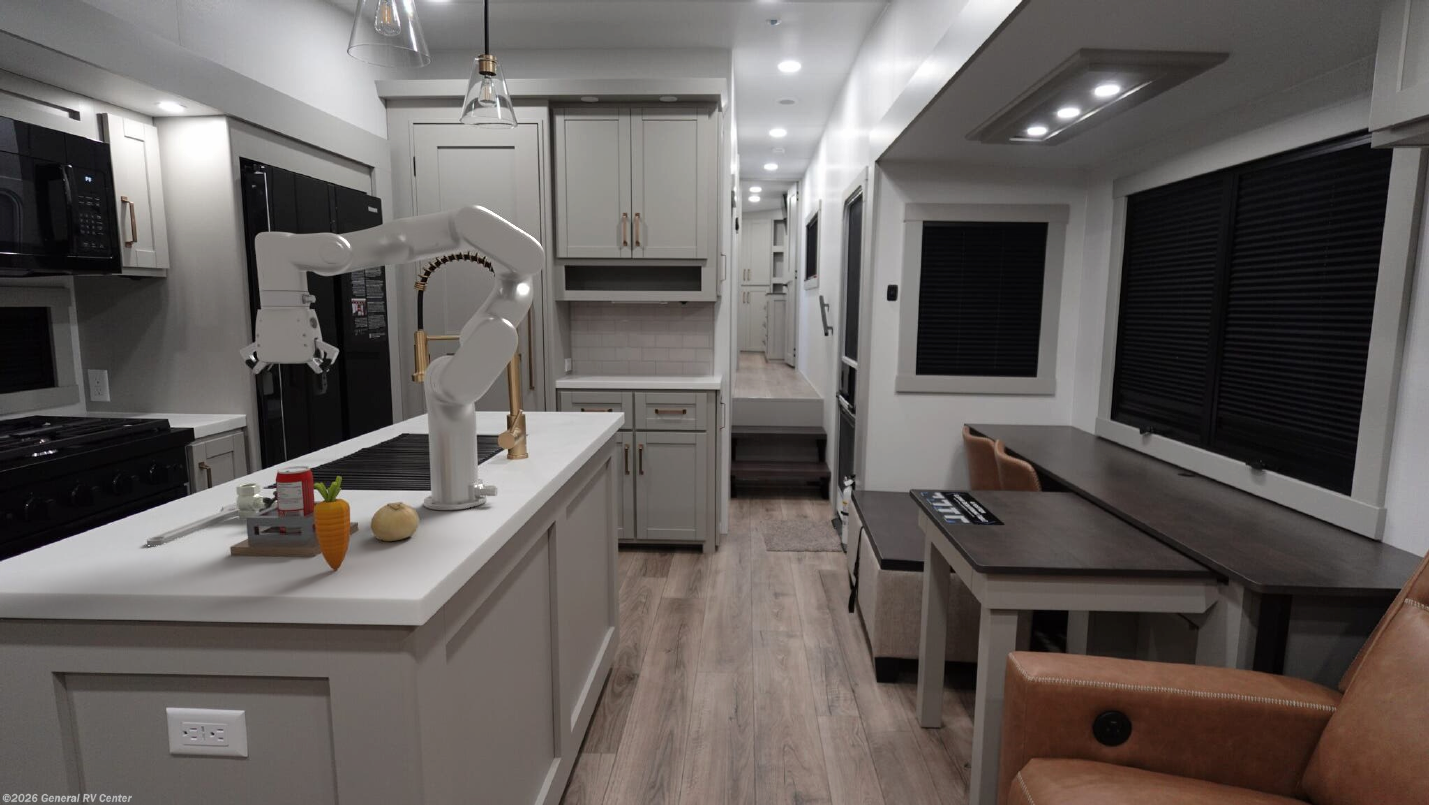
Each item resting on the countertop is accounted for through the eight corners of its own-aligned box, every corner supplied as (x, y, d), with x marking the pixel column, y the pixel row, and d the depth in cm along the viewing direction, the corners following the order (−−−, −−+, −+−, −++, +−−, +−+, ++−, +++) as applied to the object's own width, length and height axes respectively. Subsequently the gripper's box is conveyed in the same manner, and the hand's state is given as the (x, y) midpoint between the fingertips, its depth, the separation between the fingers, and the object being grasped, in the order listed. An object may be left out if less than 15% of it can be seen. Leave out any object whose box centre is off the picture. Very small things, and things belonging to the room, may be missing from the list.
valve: (226, 520, 133) (263, 529, 128) (223, 487, 132) (260, 495, 127) (261, 512, 139) (298, 520, 133) (259, 480, 138) (295, 487, 133)
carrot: (315, 578, 104) (309, 482, 102) (319, 567, 109) (313, 475, 107) (352, 573, 106) (346, 479, 104) (354, 562, 111) (349, 473, 109)
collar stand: (358, 530, 127) (356, 499, 126) (314, 556, 113) (311, 521, 113) (284, 529, 127) (281, 498, 127) (230, 555, 113) (227, 520, 113)
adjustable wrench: (157, 550, 117) (156, 540, 117) (125, 548, 118) (124, 538, 118) (271, 508, 142) (270, 500, 142) (243, 507, 143) (243, 499, 143)
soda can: (312, 526, 124) (307, 462, 123) (320, 534, 120) (315, 467, 119) (277, 533, 120) (271, 467, 119) (283, 540, 116) (278, 472, 115)
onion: (361, 542, 121) (358, 503, 120) (394, 529, 128) (392, 492, 127) (397, 547, 118) (395, 508, 117) (429, 533, 126) (427, 496, 125)
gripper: (343, 301, 128) (350, 391, 131) (249, 302, 128) (258, 392, 130) (322, 301, 121) (330, 396, 123) (222, 301, 120) (232, 397, 123)
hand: (293, 394), depth 127 cm, fingers open, 9 cm apart
